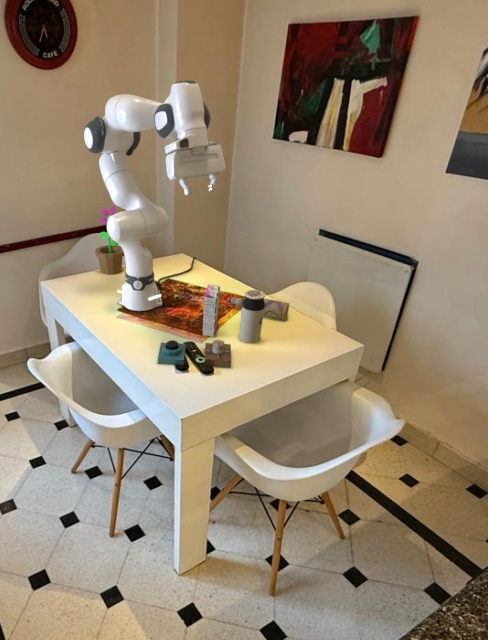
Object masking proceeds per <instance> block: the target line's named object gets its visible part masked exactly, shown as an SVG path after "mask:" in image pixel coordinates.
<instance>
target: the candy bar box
mask: <svg viewBox="0 0 488 640" xmlns="http://www.w3.org/2000/svg"><path fill="white" fill-rule="evenodd" d="M220 295H221V285H219V284H207V286H206V290H205V293H204V296H203V312H202V313H203V314H202V315H203V316H202V331H201V332H202V333H201V334H202V336H203V337H211V338H215V336H216V331H217V328H218V325H219V311H220V310H219V308H220Z"/></svg>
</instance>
